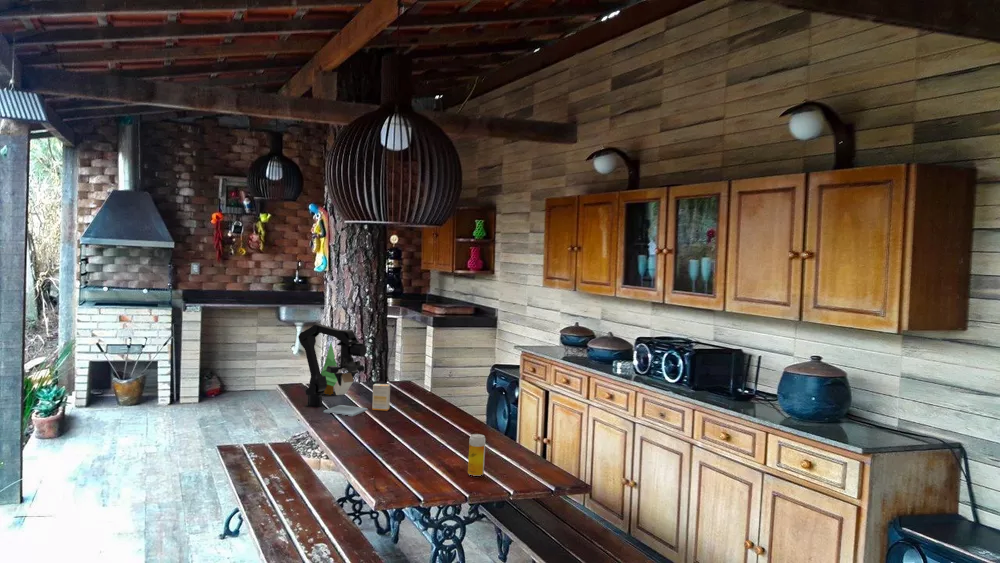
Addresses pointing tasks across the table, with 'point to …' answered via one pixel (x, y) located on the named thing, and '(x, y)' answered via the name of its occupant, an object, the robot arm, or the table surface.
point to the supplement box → (381, 397)
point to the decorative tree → (330, 377)
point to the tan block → (343, 384)
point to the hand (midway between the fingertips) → (344, 385)
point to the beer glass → (476, 455)
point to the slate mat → (345, 410)
